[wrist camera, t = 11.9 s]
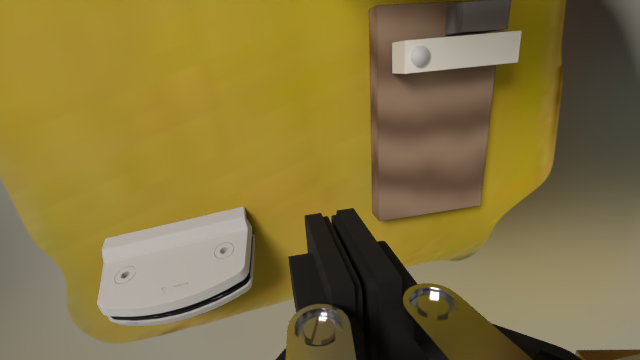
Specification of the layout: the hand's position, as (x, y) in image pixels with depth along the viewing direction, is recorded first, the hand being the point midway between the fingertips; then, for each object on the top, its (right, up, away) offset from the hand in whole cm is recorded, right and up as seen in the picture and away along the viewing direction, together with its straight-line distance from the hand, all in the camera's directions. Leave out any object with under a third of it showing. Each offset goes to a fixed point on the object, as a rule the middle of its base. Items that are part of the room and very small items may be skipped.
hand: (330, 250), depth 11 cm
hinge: (-17, -6, +28) cm, 33 cm away
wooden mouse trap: (+13, +10, +28) cm, 33 cm away
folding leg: (+13, +16, +23) cm, 31 cm away
